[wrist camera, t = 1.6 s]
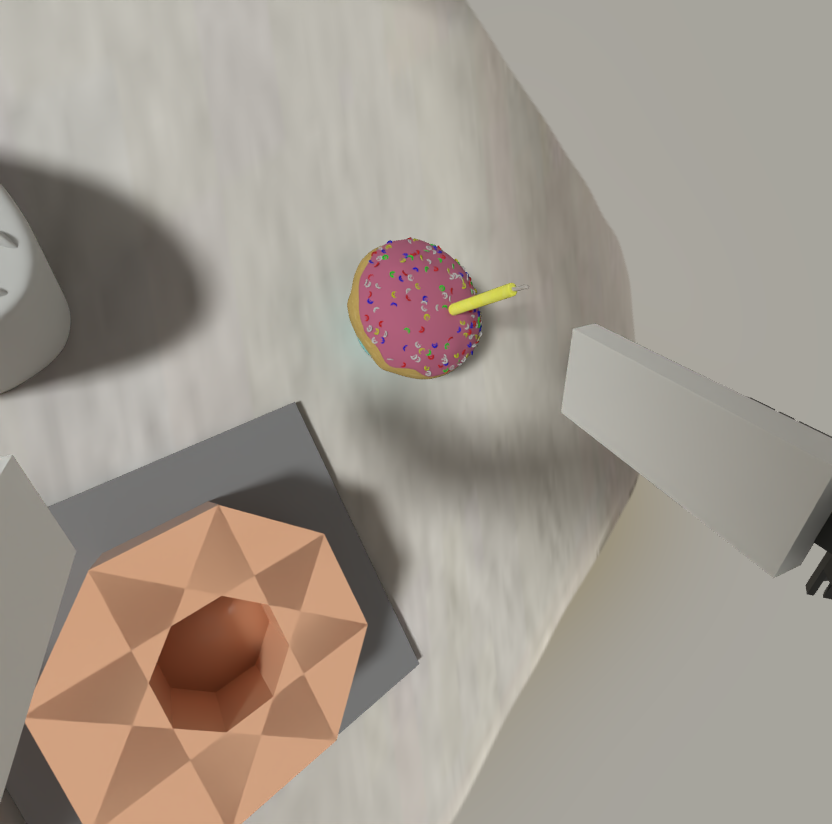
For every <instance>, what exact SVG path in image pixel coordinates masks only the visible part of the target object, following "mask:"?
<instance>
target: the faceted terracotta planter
mask: <svg viewBox="0 0 832 824" xmlns="http://www.w3.org/2000/svg"><path fill="white" fill-rule="evenodd" d="M367 626H368V624H367V622H366V620H365V618H364V615H363V613H362V611H361V609H360V607H359V605H358V603H357V601H356V599H355V597H354V595H353V593H352V591H351V589H350V586H349V584H348V582H347V580H346V578H345V576H344V574H343V572H342V570H341V568H340V566H339V564H338V562H337V560H336V557H335V555H334V553H333V551H332V549H331V547H330V545H329V543H328V541H327V539H326V537H325V535H324V534H323V533H320V532H317V531H313V530H310V529H306V528H303V527H299V526H295V525H291V524H288V523H284V522H281V521H277V520H273V519H270V518H266V517H262V516H259V515H255V514H251V513H248V512H244V511H241V510H237V509H233V508H230V507H226V506H222V505H219V504H215V503H212V502H209V501H207V502H205V503H203V504H201V505H199V506H197V507H195V508H193V509H191V510H189V511H187V512H185V513H183V514H181V515H179V516H177V517H175V518H173V519H171V520H169V521H167V522H165V523H163V524H161V525H159V526H157V527H155V528H153V529H151V530H149V531H147V532H145V533H143V534H141V535H139V536H137V537H134V538H132V539H130V540H128V541H126V542H124V543H122V544H120V545H118V546H116V547H114V548H112V549H110V550H108V551H106V552H104V553H102V554H101V555H100V557H99V558H98V559H97V560H96V562H95V563H94V564H93V565H92V566H91V568H90V569H89V570H88V573H87V575H86V577H85V579H84V582H83V584H82V586H81V588H80V590H79V593H78V595H77V597H76V599H75V601H74V604H73V606H72V608H71V610H70V612H69V615H68V617H67V619H66V621H65V623H64V626H63V628H62V630H61V632H60V634H59V637H58V639H57V641H56V643H55V645H54V648H53V650H52V652H51V654H50V656H49V659H48V661H47V663H46V665H45V667H44V670H43V672H42V674H41V676H40V678H39V681H38V683H37V685H36V687H35V689H34V693H33V696H32V699H31V703H30V706H29V709H28V713H27V716H26V719H25V724H26V725H27V727H28V729H29V731H30V732H31V734H32V736H33V738H34V739H35V741H36V743H37V745H38V746H39V748H40V750H41V752H42V753H43V755H44V757H45V759H46V761H47V762H48V764H49V766H50V768H51V769H52V771H53V773H54V775H55V776H56V778H57V780H58V782H59V783H60V785H61V787H62V789H63V790H64V792H65V794H66V796H67V797H68V799H69V801H70V803H71V805H72V806H73V808H74V810H75V812H76V813H77V815H78V817H79V819H80V820H81V822H82V824H242V823H243V822H244V821H245V820H246V819H247V818H248V817H250V816H251V815H252V814H253V813H254V812H255V811H256V810H257V809H259V808H260V807H261V806H262V805H263V804H264V803H265V802H267V801H268V800H269V799H270V798H271V797H272V796H273V795H275V794H276V793H277V792H278V791H279V790H280V789H281V788H283V787H284V786H285V785H286V784H287V783H288V782H289V781H291V780H292V779H293V778H294V777H295V776H296V775H297V774H298V773H300V772H301V771H302V770H303V769H304V768H305V767H306V766H308V765H309V764H310V763H311V762H312V761H313V760H314V759H316V758H317V757H318V756H319V755H320V754H321V753H322V752H324V751H325V750H326V749H327V748H328V747H329V746H330V745H332V744H333V743H334V742H335V741H336V740H337V736H338V733H339V729H340V725H341V722H342V718H343V714H344V711H345V707H346V703H347V700H348V696H349V692H350V688H351V685H352V681H353V677H354V674H355V670H356V666H357V663H358V659H359V655H360V651H361V648H362V644H363V640H364V637H365V633H366V629H367Z"/></svg>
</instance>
